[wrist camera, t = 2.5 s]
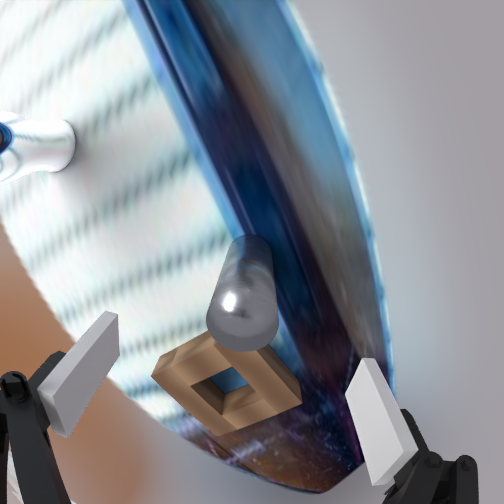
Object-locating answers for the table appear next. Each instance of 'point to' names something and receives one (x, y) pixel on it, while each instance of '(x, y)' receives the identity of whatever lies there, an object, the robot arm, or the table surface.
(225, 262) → the steel peg
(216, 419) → the socket block
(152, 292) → the table surface
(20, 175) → the beer glass
